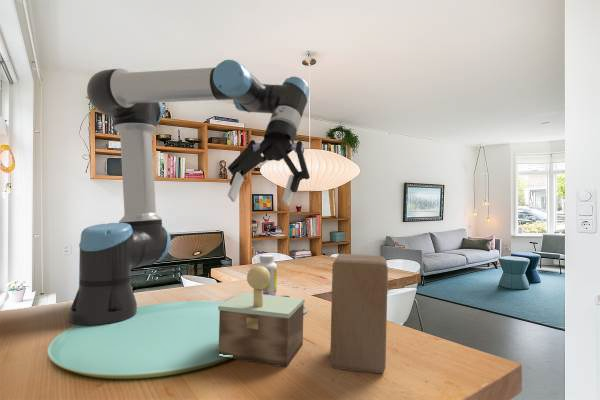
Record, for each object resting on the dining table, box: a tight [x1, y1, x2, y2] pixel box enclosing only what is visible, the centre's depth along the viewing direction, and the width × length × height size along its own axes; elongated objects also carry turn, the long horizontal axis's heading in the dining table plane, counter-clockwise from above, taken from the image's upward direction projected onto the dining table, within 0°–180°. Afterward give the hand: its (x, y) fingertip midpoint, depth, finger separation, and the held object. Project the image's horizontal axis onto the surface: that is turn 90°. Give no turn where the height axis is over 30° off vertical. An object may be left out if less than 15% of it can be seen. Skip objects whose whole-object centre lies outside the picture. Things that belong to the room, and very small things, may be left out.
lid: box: [217, 265, 306, 318], centre depth 73 cm, size 14×11×9 cm
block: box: [329, 253, 389, 374], centre depth 70 cm, size 10×10×20 cm
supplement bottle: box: [256, 254, 278, 296], centre depth 117 cm, size 7×7×13 cm
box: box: [218, 302, 305, 368], centre depth 73 cm, size 14×11×9 cm
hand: (257, 200), depth 80 cm, fingers open, 13 cm apart
